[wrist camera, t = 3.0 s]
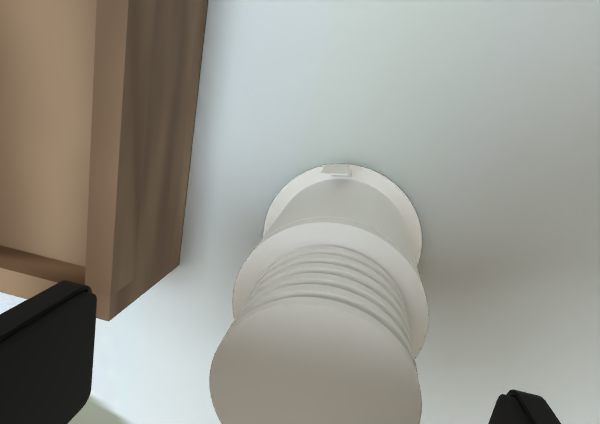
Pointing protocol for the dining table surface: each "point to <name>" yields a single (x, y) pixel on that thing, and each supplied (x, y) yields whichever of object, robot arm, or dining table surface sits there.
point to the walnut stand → (95, 142)
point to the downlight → (327, 308)
